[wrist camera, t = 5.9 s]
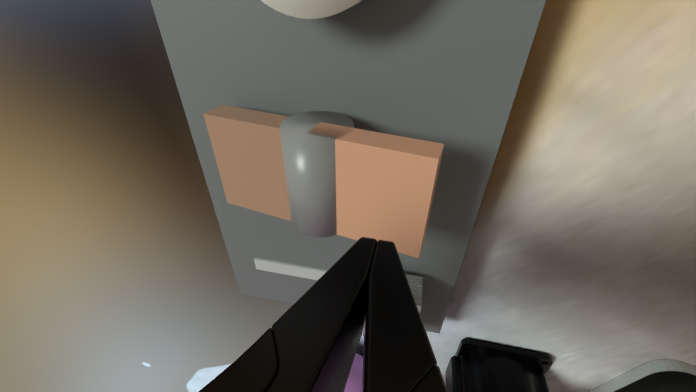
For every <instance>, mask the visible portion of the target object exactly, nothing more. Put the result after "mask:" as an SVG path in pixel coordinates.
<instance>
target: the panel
mask: <svg viewBox="0 0 696 392" xmlns="http://www.w3.org/2000/svg"><path fill="white" fill-rule="evenodd" d="M545 2H546V0H363V1H361V2H359V3H358V4H356V5H354V6H352V7H350V8H348V9H346V10H344V11H342V12H340V13H338V14H335V15H332V16H329V17H324V18H319V19H303V18H296V17H292V16H289V15H285V14H283V13H281V12H279V11H276V10H274V9H273V8H271V7H269V6H268V5H266V4H265V3H263V2H262V1H261V0H151V3H152V6H153V9H154V12H155V16H156V19H157V22H158V26H159V29H160V32H161V35H162V39H163V42H164V45H165V48H166V52H167V55H168V58H169V61H170V65H171V68H172V71H173V74H174V78H175V81H176V84H177V87H178V91H179V94H180V97H181V101H182V104H183V107H184V111H185V114H186V117H187V121H188V124H189V127H190V130H191V134H192V137H193V140H194V143H195V147H196V150H197V153H198V157H199V160H200V163H201V166H202V169H203V173H204V176H205V179H206V183H207V186H208V189H209V193H210V196H211V199H212V202H213V206H214V209H215V212H216V215H217V219H218V222H219V225H220V229H221V231H222V235H223V238H224V242H225V245H226V248H227V251H228V255H229V258H230V261H231V264H232V268H233V271H234V274H235V278H236V281H237V284H238V288H239V291H240V294H244V295H250V296H254V297H260V298H264V299H269V300H274V301H279V302H284V303H290V304H294V303H295V302H296V301H297V300H298V299H299V298H300V297H301V296H302V295H303V294H304V293H305V292H306V291H307V290H308V289H309V288H310V287H311V286H312V285H313V284H315V283H316V282H317V281H318V280H319V279H320V278H321V277H322V276H323V275H324V274H325V273H326V272H327V271H328V270H329V269H330V268H331V267H332V266H333V265H334V264H335V263H336V262H337V261H338V260H339V259H340V258H341V257H342V256H343V255H344V254H345V253H346V252H347V251H348V250H349V249H350V248H351V247H352V246H353V245H354V244H355V243H356V242H357V240H354V239H350V238H347V237H344V236H340V235H334V236H330V237H324V238H317V237H310V236H306V235H304V234H302V233H300V232H298V231H297V230H296V229H295V228H294V227H293V225H292V222H291V221H288V220H285V219H282V218H278V217H275V216H271V215H268V214H264V213H261V212H257V211H254V210H251V209H247V208H244V207H240V206H237V205H233V204H230V203H227V200H226V196H225V192H224V188H223V185H222V181H221V177H220V174H219V170H218V166H217V163H216V159H215V155H214V152H213V148H212V144H211V140H210V137H209V133H208V129H207V126H206V122H205V118H204V115H203V114H204V113H206V112H208V111H210V110H212V109H214V108H216V107H218V106H220V105H227V106H232V107H238V108H244V109H249V110H255V111H261V112H266V113H272V114H278V115H283V116H292V115H294V114H298V113H302V112H309V111H329V112H335V113H339V114H343V115H345V116H347V117H349V118H350V119H351V120H352V121H353V122H354V128H357V129H363V130H368V131H374V132H380V133H385V134H391V135H397V136H402V137H408V138H413V139H419V140H425V141H430V142H436V143H442V144H444V148H443V153H442V158H441V163H440V167H439V172H438V177H437V182H436V187H435V192H434V196H433V201H432V206H431V211H430V216H429V221H428V226H427V230H426V235H425V240H424V243H423V247H422V250H421V253H420V256H419V258H416V257H412V256H409V255H405V254H402V253H399V252H398V255H399V257H400V260H401V263H402V266H403V269H404V271H405V274H408V275H414V276H420V277H423V279H422V306H421V311H420V316H421V319H422V322H423V325H424V328H425V330H426V331H430V332H435V333H440V330H441V327H442V324H443V321H444V317H445V314H446V311H447V308H448V305H449V302H450V299H451V296H452V292H453V289H454V286H455V283H456V280H457V277H458V274H459V271H460V267H461V264H462V261H463V258H464V255H465V252H466V249H467V246H468V242H469V239H470V236H471V233H472V230H473V227H474V224H475V221H476V218H477V214H478V211H479V208H480V205H481V202H482V199H483V196H484V193H485V189H486V186H487V183H488V180H489V177H490V174H491V171H492V168H493V164H494V161H495V158H496V155H497V152H498V149H499V146H500V143H501V139H502V136H503V133H504V130H505V127H506V124H507V121H508V118H509V114H510V111H511V108H512V105H513V102H514V99H515V96H516V93H517V89H518V86H519V83H520V80H521V77H522V74H523V71H524V68H525V64H526V61H527V58H528V55H529V52H530V49H531V46H532V43H533V39H534V36H535V33H536V30H537V27H538V24H539V21H540V18H541V14H542V11H543V8H544V5H545Z"/></svg>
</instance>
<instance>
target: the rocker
mask: <svg viewBox="0 0 696 392" xmlns="http://www.w3.org/2000/svg"><path fill="white" fill-rule="evenodd" d="M203 115H204V118H205V122H206V126H207V129H208V133H209V137H210V140H211V144H212V148H213V152H214V155H215V159H216V163H217V166H218V170H219V174H220V177H221V181H222V185H223V188H224V192H225V196H226V200H227V203H230V204H233V205H237V206H240V207H244V208H247V209H251V210H254V211H257V212H261V213H264V214H268V215H271V216H275V217H278V218H282V219H285V220H288V221H291V222H292V225H293V227H294V228H295V229H296V230H297V231H298V232H300V233H302V234H304V235H306V236H310V237H317V238H324V237H330V236H334V235H340V236H344V237H347V238H350V239H354V240H357V241H358V240H359V239H360V238H361V237H368V238H374V239H376V240H377V241H378V240H386V241H392V242H394V244H395V246H396V249H397V252H399V253H402V254H405V255H409V256H412V257H416V258H419V256H420V253H421V250H422V247H423V243H424V240H425V235H426V230H427V226H428V221H429V216H430V211H431V206H432V201H433V196H434V192H435V187H436V182H437V177H438V172H439V167H440V163H441V158H442V153H443V148H444V144H442V143H436V142H430V141H425V140H419V139H413V138H408V137H402V136H397V135H391V134H385V133H380V132H374V131H368V130H363V129H357V128H354V122H353V121H352V120H351V119H350V118H349V117H347V116H345V115H343V114H339V113H335V112H329V111H309V112H302V113H298V114H294V115H292V116H283V115H278V114H272V113H266V112H261V111H255V110H249V109H244V108H238V107H232V106H227V105H220V106H218V107H216V108H214V109H212V110H210V111H208V112H206V113H204V114H203Z"/></svg>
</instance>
